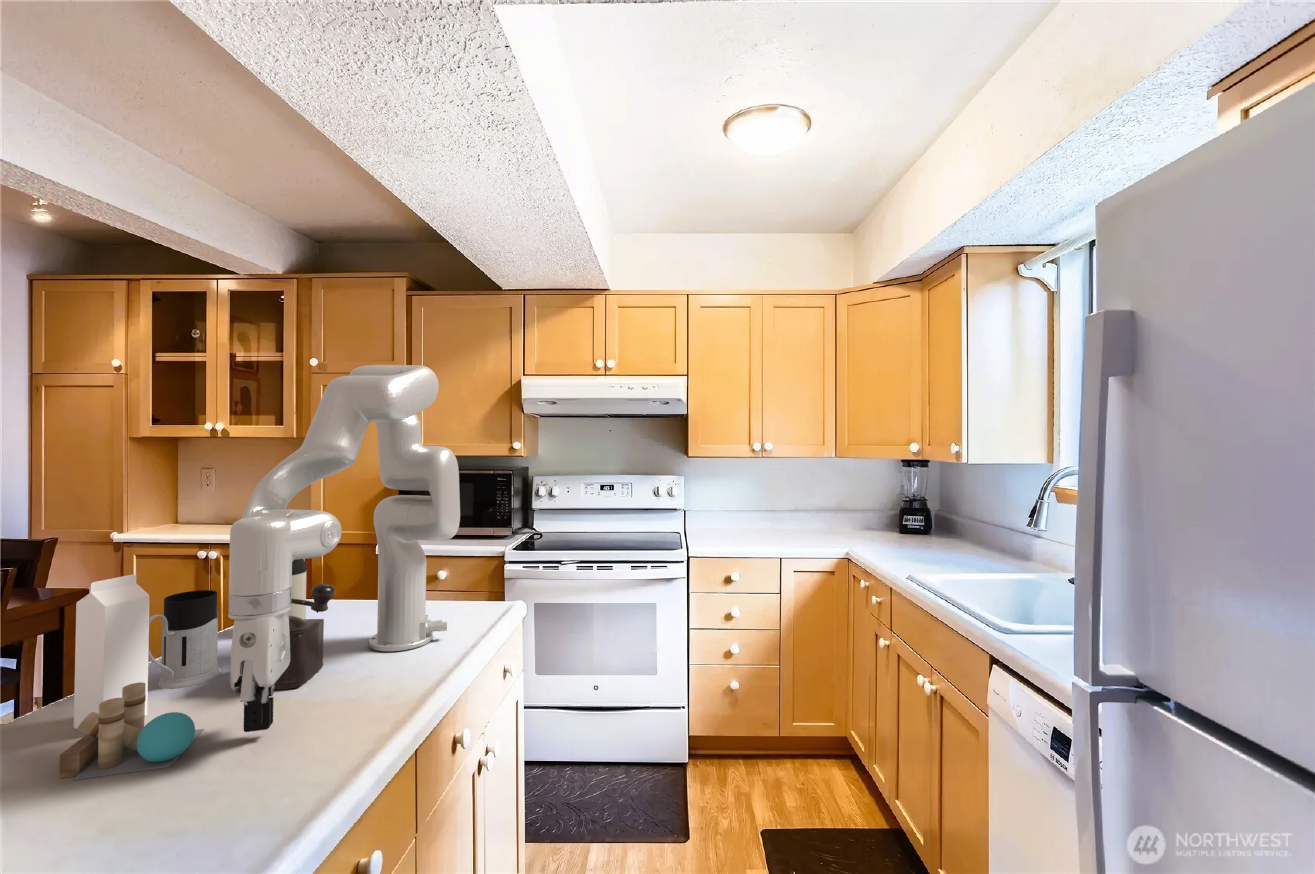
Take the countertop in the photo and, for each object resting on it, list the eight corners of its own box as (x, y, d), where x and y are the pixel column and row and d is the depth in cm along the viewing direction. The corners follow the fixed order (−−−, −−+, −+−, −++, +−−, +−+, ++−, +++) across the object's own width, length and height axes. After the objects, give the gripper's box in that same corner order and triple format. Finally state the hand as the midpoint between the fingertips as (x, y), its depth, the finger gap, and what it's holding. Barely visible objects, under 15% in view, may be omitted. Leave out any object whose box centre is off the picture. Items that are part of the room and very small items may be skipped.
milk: (73, 729, 84) (74, 581, 84) (120, 710, 90) (121, 572, 90) (102, 734, 83) (104, 584, 83) (149, 714, 89) (150, 574, 89)
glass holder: (231, 668, 107) (233, 589, 107) (169, 702, 93) (171, 611, 93) (184, 668, 107) (185, 589, 107) (114, 703, 92) (116, 611, 93)
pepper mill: (230, 694, 96) (232, 588, 96) (265, 668, 107) (267, 573, 107) (328, 689, 98) (330, 586, 99) (352, 664, 109) (354, 571, 110)
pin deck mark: (203, 729, 84) (203, 728, 84) (169, 766, 75) (169, 765, 75) (120, 740, 81) (120, 738, 81) (73, 779, 72) (73, 778, 72)
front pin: (161, 731, 80) (97, 708, 77) (152, 740, 77) (85, 716, 75) (150, 748, 79) (85, 725, 77) (140, 757, 77) (72, 734, 75)
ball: (130, 731, 77) (178, 741, 81) (119, 768, 72) (171, 776, 76) (161, 697, 77) (208, 708, 81) (153, 731, 73) (202, 741, 76)
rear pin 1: (127, 759, 76) (129, 696, 76) (116, 769, 74) (118, 704, 74) (104, 762, 76) (105, 698, 76) (92, 772, 73) (94, 707, 73)
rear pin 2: (148, 740, 81) (149, 681, 81) (138, 749, 79) (139, 688, 79) (126, 743, 80) (128, 683, 80) (115, 752, 78) (117, 690, 78)
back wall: (120, 740, 81) (121, 719, 81) (79, 775, 73) (79, 752, 73) (103, 742, 81) (103, 721, 81) (59, 778, 72) (59, 754, 72)
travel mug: (283, 624, 133) (284, 547, 133) (313, 625, 132) (314, 548, 132) (254, 635, 125) (255, 554, 125) (286, 637, 124) (288, 555, 124)
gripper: (273, 614, 76) (270, 750, 76) (304, 587, 91) (302, 702, 90) (207, 619, 74) (204, 759, 74) (249, 590, 88) (247, 708, 88)
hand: (258, 727), depth 82 cm, fingers closed
